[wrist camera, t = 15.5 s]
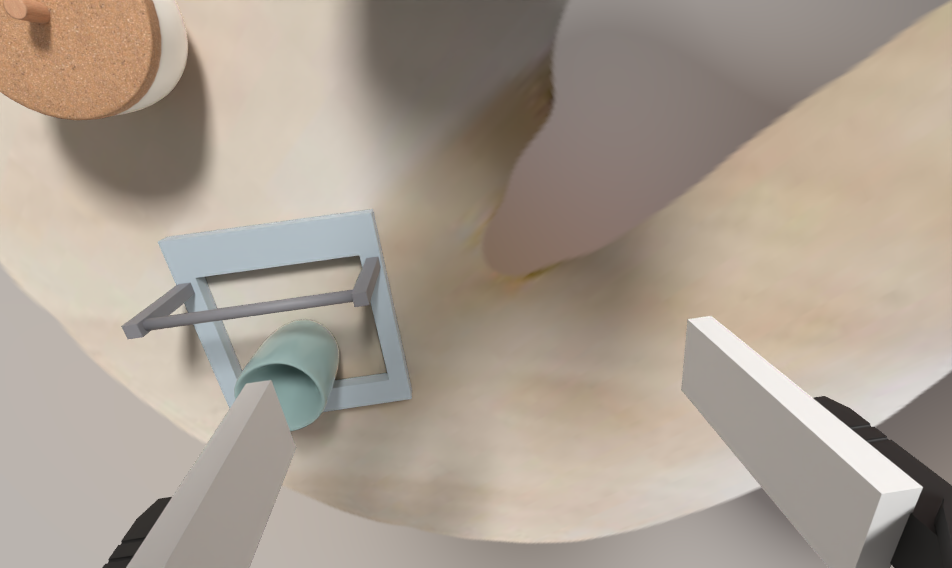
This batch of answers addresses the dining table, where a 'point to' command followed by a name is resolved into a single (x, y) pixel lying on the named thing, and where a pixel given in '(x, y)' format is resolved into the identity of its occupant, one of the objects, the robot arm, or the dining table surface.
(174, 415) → the dining table surface
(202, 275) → the towel rail frame
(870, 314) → the dining table surface
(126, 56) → the lidded bowl
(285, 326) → the cup
